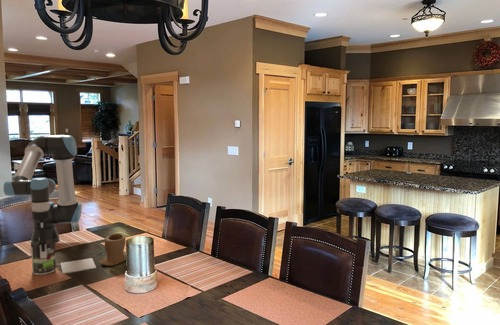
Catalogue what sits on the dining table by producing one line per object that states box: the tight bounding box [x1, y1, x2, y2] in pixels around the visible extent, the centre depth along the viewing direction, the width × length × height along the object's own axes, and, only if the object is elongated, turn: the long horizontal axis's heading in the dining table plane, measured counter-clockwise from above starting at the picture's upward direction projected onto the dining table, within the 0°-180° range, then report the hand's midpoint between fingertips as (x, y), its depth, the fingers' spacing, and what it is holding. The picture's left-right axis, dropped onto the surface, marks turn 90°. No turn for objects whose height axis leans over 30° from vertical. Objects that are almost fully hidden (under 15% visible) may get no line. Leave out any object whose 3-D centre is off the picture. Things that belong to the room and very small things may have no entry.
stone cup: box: [99, 232, 127, 267], centre depth 202 cm, size 15×12×15 cm
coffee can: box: [30, 240, 57, 276], centre depth 190 cm, size 10×10×14 cm
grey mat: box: [60, 257, 97, 275], centre depth 197 cm, size 15×15×1 cm
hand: (43, 253), depth 190 cm, fingers open, 13 cm apart
